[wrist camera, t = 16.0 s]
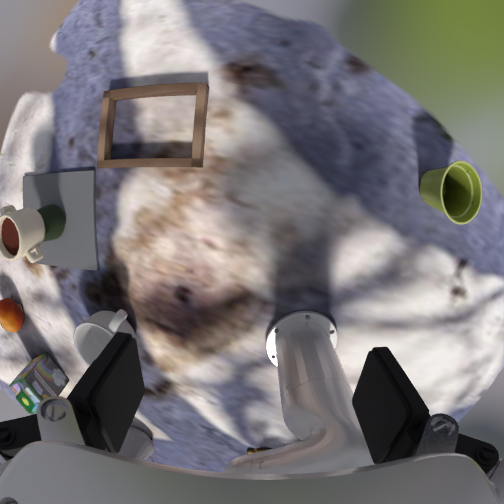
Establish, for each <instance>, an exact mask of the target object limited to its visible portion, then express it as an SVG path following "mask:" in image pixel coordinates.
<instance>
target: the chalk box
mask: <svg viewBox="0 0 504 504" xmlns="http://www.w3.org/2000/svg"><path fill="white" fill-rule="evenodd" d="M68 382H69V380H68V379H67V377H66V376H65V375H64V374H63V372H62V371H61V370H60V369H59V367H58V366H57V365H56V364H55V362H54V361H53V360H52V358H51V357H50V356H49V354H48V353H44V354H42V355H40V356H38V357H36V358H35V359H33V360H31V361H30V362H29V364H28V365H27V366H26V367H25V368H24V369H23V370H22V371H21V372H20V374H19V375H18V376H17V377H16V378H15V379H14V381H13V382H12V383H11V384H10V387H11V388H12V389H13V391H14V392H15V393H16V394H17V396H16V399H17V401H18V402H19V403H20V404H21V405H22V406H23V407H24V409H25V410H26V411H27V412H28V413H31V411H32V412H33V413H37V407H38V404H39V403H40V402H41V401H42V400H43V399H45V398H47V397H50V396H59V395H60V393H61V392H62V391H63V389H64V388H65V386H66V385H67V383H68ZM23 402H24V403H25V404H26V405H25V404H24V403H23Z"/></svg>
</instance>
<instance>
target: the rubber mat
mask: <svg viewBox="0 0 504 504" xmlns="http://www.w3.org/2000/svg"><path fill="white" fill-rule="evenodd" d="M95 171H96V170H92V171H76V172H62V173H51V174H40V175H31V176H23V209H25V208H33V209H36V210H38V209H40V208H42V207H44V206H46V205H51V204H54V205H56V206H58V207H60V209H61V210H62V212H63V213H64V218H65V227H64V231H63V233H62V235H61V236H60V237H59V238H58V239H54V240H51V241H45V242H42V244H41V246H40V249H41V250H42V252H43V254H44V257H43V258H42V259H40V260H38V261H36V262H34V263H38V264H45V265H53V266H61V267H68V268H77V269H85V270H94V271H98V270H99V264H98V252H97V238H96V216H95ZM32 255H33V256H35V255H37V253H36V252H33V253H32ZM29 262H30V261H29Z"/></svg>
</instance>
